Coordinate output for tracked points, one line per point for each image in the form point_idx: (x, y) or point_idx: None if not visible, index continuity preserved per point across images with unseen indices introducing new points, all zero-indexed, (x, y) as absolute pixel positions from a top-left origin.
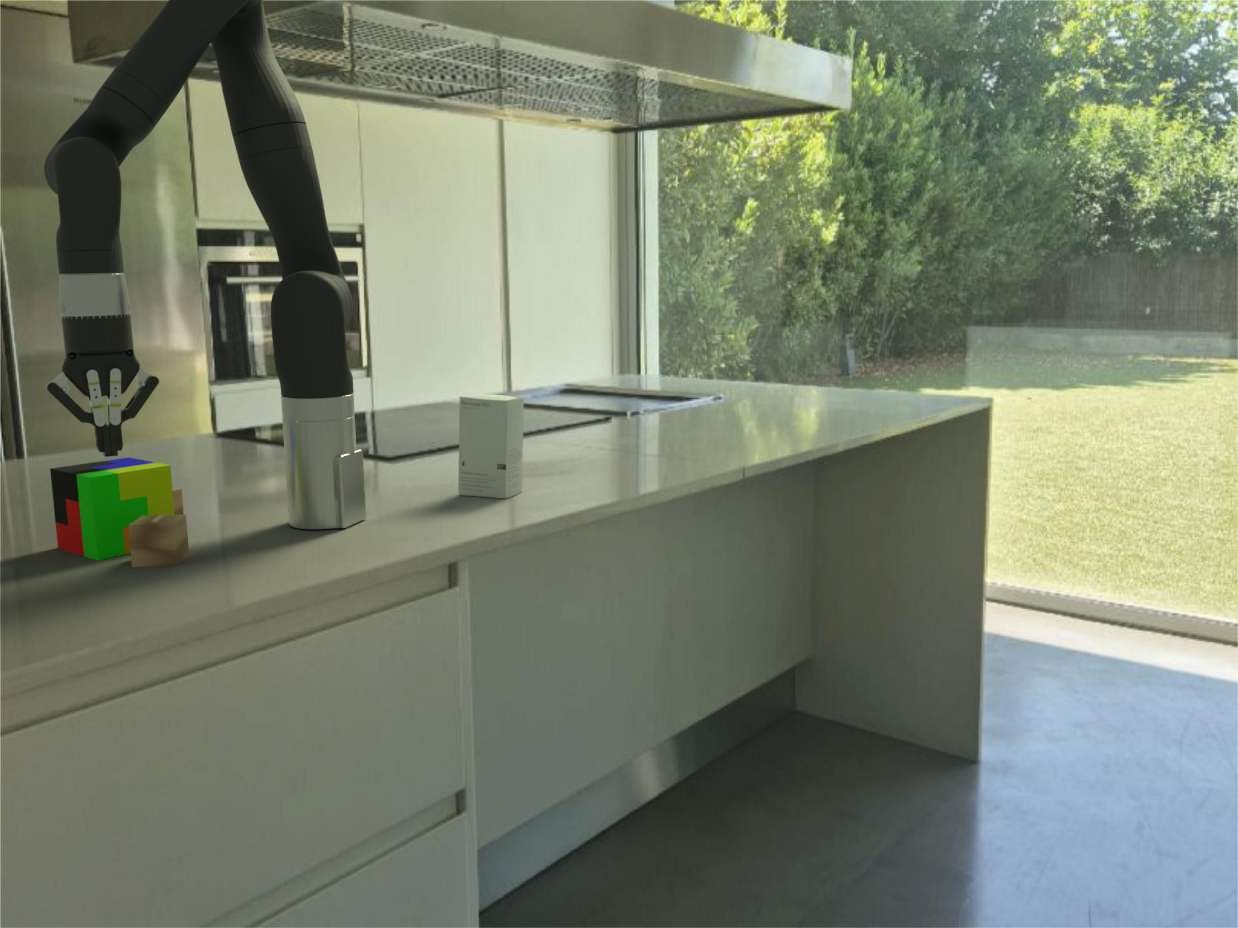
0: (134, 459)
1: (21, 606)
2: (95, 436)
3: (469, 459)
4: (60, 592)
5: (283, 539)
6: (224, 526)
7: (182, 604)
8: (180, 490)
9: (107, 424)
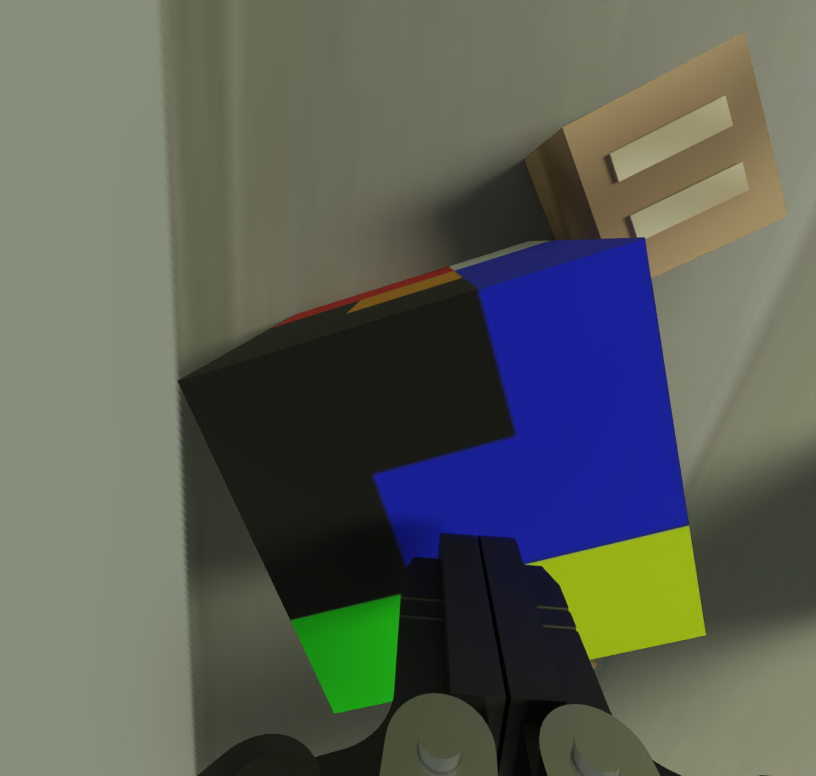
0: (639, 351)
1: (210, 739)
2: (397, 642)
3: None
4: (274, 700)
5: (803, 569)
6: (775, 327)
7: None
8: (776, 220)
9: (516, 701)
